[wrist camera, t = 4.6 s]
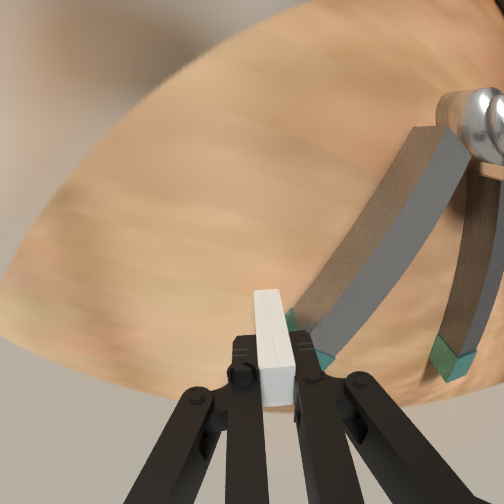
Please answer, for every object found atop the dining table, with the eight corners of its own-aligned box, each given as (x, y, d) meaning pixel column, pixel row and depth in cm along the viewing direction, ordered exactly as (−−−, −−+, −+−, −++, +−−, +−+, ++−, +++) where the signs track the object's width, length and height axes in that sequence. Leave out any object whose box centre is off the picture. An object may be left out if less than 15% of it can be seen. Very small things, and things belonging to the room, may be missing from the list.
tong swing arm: (439, 72, 12) (489, 60, 7) (482, 125, 13) (531, 129, 8) (266, 339, 19) (272, 395, 14) (325, 363, 20) (342, 414, 15)
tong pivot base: (432, 86, 13) (474, 77, 9) (484, 103, 13) (522, 103, 9) (401, 366, 21) (420, 398, 17) (447, 351, 21) (468, 378, 17)
